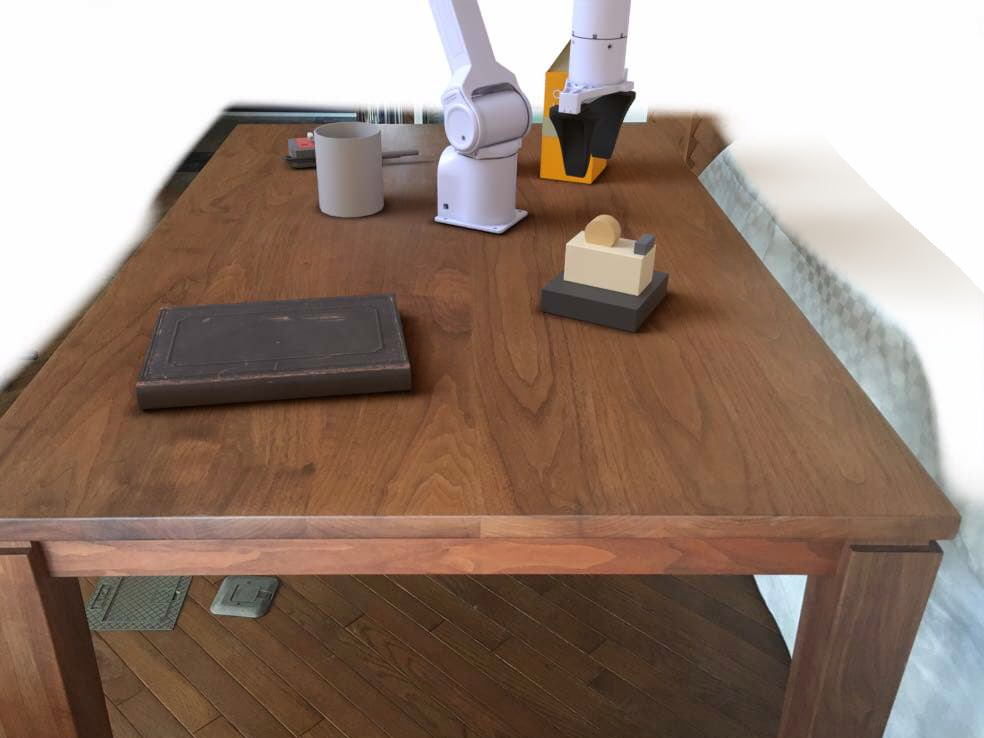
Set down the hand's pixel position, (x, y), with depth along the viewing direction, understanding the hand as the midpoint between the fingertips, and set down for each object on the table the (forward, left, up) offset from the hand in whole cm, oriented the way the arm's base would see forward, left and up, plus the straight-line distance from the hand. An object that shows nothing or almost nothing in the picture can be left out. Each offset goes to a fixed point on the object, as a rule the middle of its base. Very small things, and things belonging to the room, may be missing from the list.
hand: (588, 166), depth 99 cm
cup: (-33, +1, -11) cm, 35 cm away
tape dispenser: (+7, -11, -8) cm, 15 cm away
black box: (+7, -11, -10) cm, 17 cm away
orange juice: (-13, +29, -11) cm, 34 cm away
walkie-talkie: (-45, +18, -11) cm, 50 cm away
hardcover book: (-15, -37, -11) cm, 41 cm away
